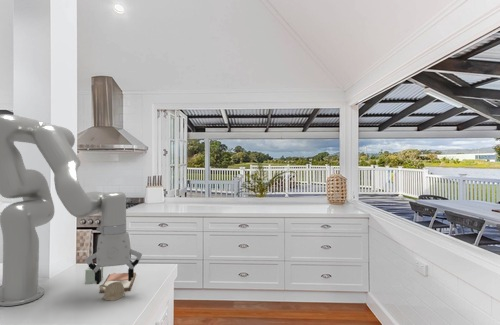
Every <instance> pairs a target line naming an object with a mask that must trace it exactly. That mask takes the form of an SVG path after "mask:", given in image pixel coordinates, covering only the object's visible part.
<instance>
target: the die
mask: <svg viewBox="0 0 500 325" xmlns="http://www.w3.org/2000/svg"><path fill="white" fill-rule="evenodd" d="M100 269H101V281H103V279H104V267H100ZM84 274H85V277H84V284H85V285H88V284H87V283H91V284H97V281H95V272H94V271H93V270H92V269H91V268H90V267H89V266H88V267H87V268H86V269H85V273H84ZM102 278H103V279H102Z"/></svg>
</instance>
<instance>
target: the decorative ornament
mask: <svg viewBox="0 0 500 325" xmlns="http://www.w3.org/2000/svg"><path fill="white" fill-rule="evenodd" d="M98 287H99V290H100V289H102V290H104V293H103V296H102V299H103V300H104V301H105V300H106V301H117V300H120V299H121V298H123V297H124V296H125V295H126V292H125V291H124V286H123V284H122V283H121V282H113V283H111V284H109V285H108V286H106V285H103V284H99V286H98ZM102 287H105V289H104V288H102Z"/></svg>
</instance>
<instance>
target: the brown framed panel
mask: <svg viewBox="0 0 500 325" xmlns="http://www.w3.org/2000/svg"><path fill="white" fill-rule="evenodd" d="M136 276H137V273H136V272H134V277H133V278H132V279H131V281H128V272H122V273H121V272H119V273H109V274H108V276H107V277H106V279H105V281H104V282H103V284H102V285H106V286H108V285H109V284H111V283H113V282H121V283H122V284H123V286H124V292H131V290H132V287H133V284H134V281H135V279H136ZM101 287H102V286H101ZM102 288H104V289H105V287H102ZM98 293H99V294H104V290H102V289H100V288H99V290H98Z"/></svg>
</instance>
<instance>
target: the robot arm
mask: <svg viewBox="0 0 500 325" xmlns="http://www.w3.org/2000/svg"><path fill="white" fill-rule="evenodd" d="M14 142H19V143H20V142H21V143H26V144H27V143H28V144H32V145H35V146H36V147H37V149H38V151H39V152H40V154H41V155H42V157H43V159H44V160H45V162H46V163H47V164H48V166H49V168H50V169H51V171H52V172H53V174H54V175H53V176H54V178H53V180H54V181H53V182H54V188H55V193H56V195H57V196H58V199H59V200H60V202H61V204H62V205H63V207H64V208H65V210H67V212H68V213H69V214H70V215H71V216H73V217H74V218H78V219H80V218H81V219H83V218H86V217H90V216H93V215H96V214H97V215H98V214H101V215H100V216H101V225H100V226H97V227H96V232H100V234H99V235H98V238H97V244H96V245H97V246H96V252H95V253H93V254H91V255H89V256H87V257H86V258H85V262H86V264H87V266H88V267H90V268H91V269H92V270H93V271H94V272H95V281H97V283H96V285H100V283H101V282H102V280H101V269H100V267H103V268H104V267H106V268H107V267H117V266H124V265H126V266H127V267H128V268H127V273H128V281H131V279H132V278H133V277H134V273H135V272H134V271H135V270H134V269H135V267H136V266H137V265H138V264H139V262H140V261H141V258H142V256H143V253H141V252H139V251H137V250H134V249H132V248H131V246H132V245H131V241H130V238H131V237H130V234H129V232H128V231H127V197H126V194H125V193H124V192H122V191H111V192H101V191H89V192H85V190H84V189H83V187H82V186H81V184H80V181H79V179H78V176H77V175H78V169H79V167H80V166H81V160H80V158H79V157H78V155H77V153H76V152H75V150H74V149H73V147H74V146H75V142H76V139H75V135H74V134H73V132H72V131H71V130H70V129H69V128H67V127H63V126H58V125H54V124H51V123H47V122H44V121H41V120H37V119H32V118H28V117H23V116H19V115H16V114H7V113H3V114H0V196H1V197H2V198H5V199H20V198H22V200H21V201H16V202H12V203H10V204H8V206H6V207H5V208H4V209H3V210H2V211H1V213H0V228H1V229H0V230H1V233H2V280H1V282H2V285H0V306H2V307H14V306H19V305H23V304H27V303H32V302H33V301H36V300H37V299H40V298H41V297H42V296H43V295H44V288H41V287H39V272H40V271H39V269H40V268H39V264H40V263H39V261H40V239H39V235H38V232H37V229H36V228H37V227H40V226H44V225H46V224H48V223H49V222H51V221H52V219H53V218H54V216H55V204H54V201H53V197H52V193H51V190H50V186H49V184H48V181H47V179H46V176H45V175H44V174H43V173H41V172H40V171H39V170H36V169H32V168H31V169H28V168H26V166H25V163H24V159H23V157H22V153H21V152H20V151H19V149H18V148H17V146H16V145H15V144H14ZM132 256H134V257H136V258H135V260H134V261H133V260H132V258H131V257H132ZM94 259H96V260H95V262H96V264H95V263H94V262H93V260H94Z"/></svg>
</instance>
